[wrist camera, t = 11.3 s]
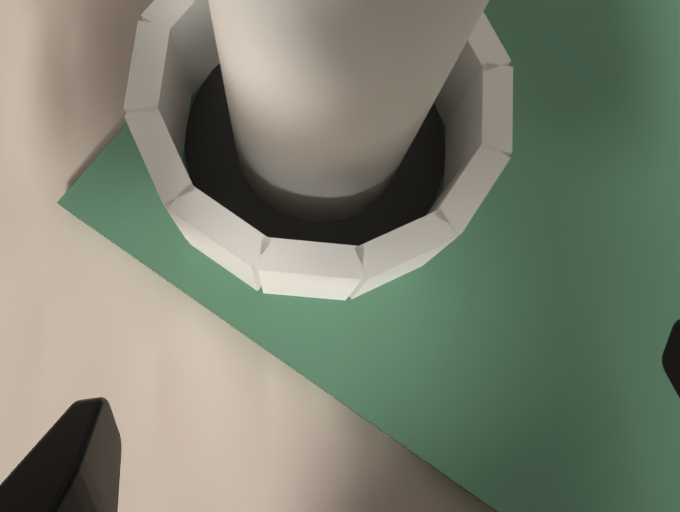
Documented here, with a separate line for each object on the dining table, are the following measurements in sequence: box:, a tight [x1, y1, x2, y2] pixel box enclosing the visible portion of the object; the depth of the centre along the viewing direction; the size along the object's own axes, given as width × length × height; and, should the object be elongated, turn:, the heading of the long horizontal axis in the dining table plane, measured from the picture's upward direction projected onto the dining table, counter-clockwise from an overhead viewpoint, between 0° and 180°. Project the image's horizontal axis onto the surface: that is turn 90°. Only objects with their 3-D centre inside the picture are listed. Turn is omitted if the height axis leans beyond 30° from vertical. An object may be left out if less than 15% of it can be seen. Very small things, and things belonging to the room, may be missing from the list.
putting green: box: [57, 0, 680, 512], centre depth 17 cm, size 20×20×4 cm
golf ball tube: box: [208, 0, 489, 222], centre depth 12 cm, size 5×5×12 cm
